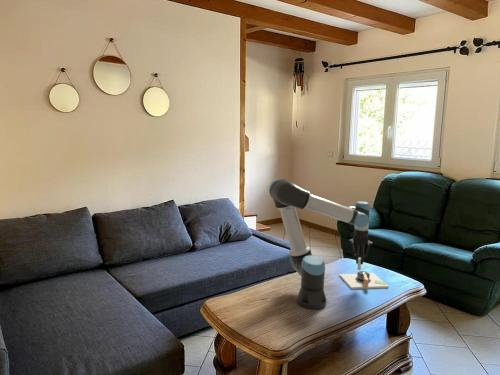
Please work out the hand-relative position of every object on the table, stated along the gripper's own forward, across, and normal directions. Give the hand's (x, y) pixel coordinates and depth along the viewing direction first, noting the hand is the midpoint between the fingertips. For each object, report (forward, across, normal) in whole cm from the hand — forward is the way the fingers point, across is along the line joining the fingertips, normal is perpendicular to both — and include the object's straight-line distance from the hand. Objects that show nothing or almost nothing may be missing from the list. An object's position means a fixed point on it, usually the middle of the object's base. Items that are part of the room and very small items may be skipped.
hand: (359, 269), depth 207 cm
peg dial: (+9, +3, +4) cm, 10 cm away
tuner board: (+10, +2, +8) cm, 13 cm away
